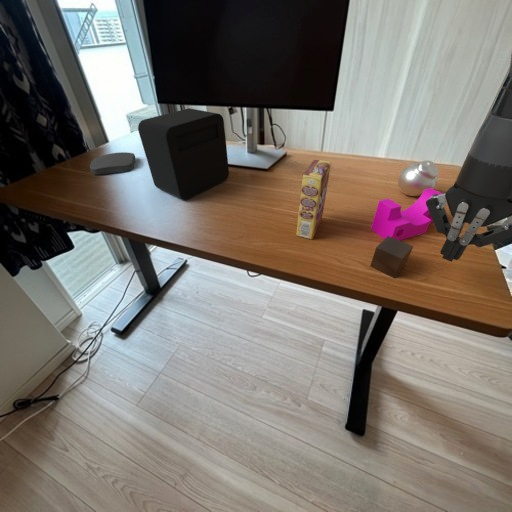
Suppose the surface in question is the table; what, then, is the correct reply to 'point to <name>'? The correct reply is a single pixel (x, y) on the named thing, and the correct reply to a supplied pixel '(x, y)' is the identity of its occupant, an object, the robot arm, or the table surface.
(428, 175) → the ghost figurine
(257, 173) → the table surface
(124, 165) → the media streaming box
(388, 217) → the magenta curved bracket
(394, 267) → the walnut cube
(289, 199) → the table surface
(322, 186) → the candy box
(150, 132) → the air purifier
